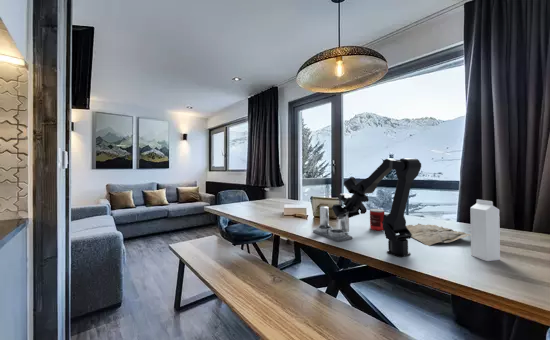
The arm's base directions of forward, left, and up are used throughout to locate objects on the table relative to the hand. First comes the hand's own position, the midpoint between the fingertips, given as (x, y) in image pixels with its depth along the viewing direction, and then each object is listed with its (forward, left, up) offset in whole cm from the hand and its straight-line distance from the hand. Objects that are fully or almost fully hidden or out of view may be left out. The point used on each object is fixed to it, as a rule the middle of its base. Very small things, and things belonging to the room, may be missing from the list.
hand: (342, 218), depth 129 cm
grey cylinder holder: (-1, +9, -8) cm, 12 cm away
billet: (-1, 0, -7) cm, 7 cm away
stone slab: (-28, -34, -8) cm, 44 cm away
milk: (-54, -21, -8) cm, 59 cm away
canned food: (-5, -21, -8) cm, 23 cm away
